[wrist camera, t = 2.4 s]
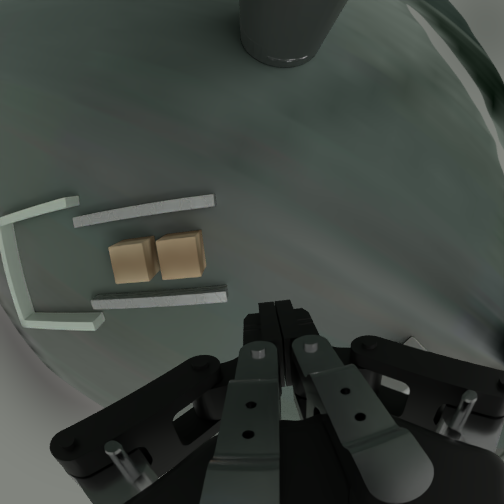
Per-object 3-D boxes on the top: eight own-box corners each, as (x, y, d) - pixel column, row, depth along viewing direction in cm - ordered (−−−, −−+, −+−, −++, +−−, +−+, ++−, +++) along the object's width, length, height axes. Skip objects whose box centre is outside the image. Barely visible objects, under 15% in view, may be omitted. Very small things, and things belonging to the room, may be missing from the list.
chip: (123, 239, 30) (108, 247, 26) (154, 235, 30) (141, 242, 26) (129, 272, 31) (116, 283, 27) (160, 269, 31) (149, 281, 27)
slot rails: (81, 215, 29) (72, 217, 27) (215, 193, 29) (213, 194, 27) (100, 303, 32) (93, 309, 30) (228, 294, 32) (227, 301, 30)
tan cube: (166, 233, 30) (155, 241, 26) (201, 229, 30) (195, 236, 26) (172, 268, 31) (162, 279, 27) (206, 265, 31) (201, 276, 27)
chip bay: (7, 216, 29) (-6, 219, 26) (78, 195, 28) (65, 197, 26) (32, 319, 32) (22, 327, 30) (105, 320, 32) (95, 330, 29)
